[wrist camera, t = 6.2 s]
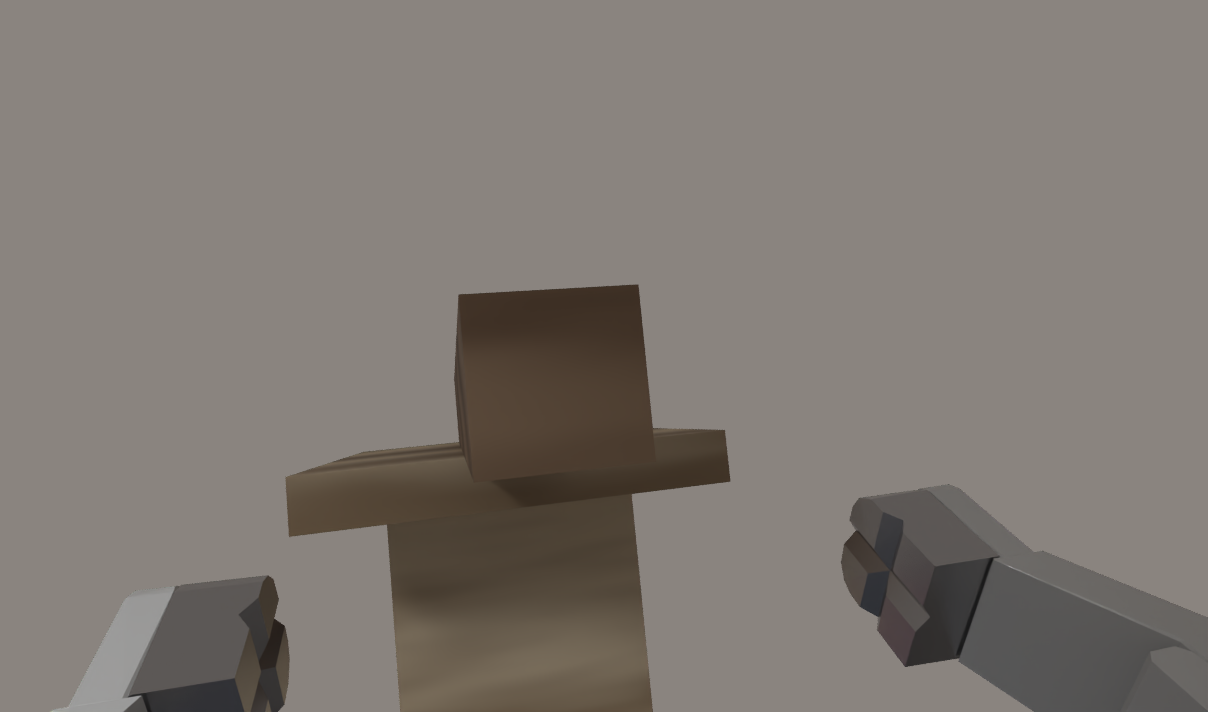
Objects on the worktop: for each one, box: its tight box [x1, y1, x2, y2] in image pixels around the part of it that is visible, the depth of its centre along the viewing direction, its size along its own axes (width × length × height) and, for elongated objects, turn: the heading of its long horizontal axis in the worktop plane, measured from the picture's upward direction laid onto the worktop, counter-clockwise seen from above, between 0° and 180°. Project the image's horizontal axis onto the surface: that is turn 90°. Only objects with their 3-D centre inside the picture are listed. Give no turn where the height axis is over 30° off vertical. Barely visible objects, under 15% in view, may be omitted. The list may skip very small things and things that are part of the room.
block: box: [454, 285, 656, 483], centre depth 22 cm, size 22×3×3 cm, turn 13°
